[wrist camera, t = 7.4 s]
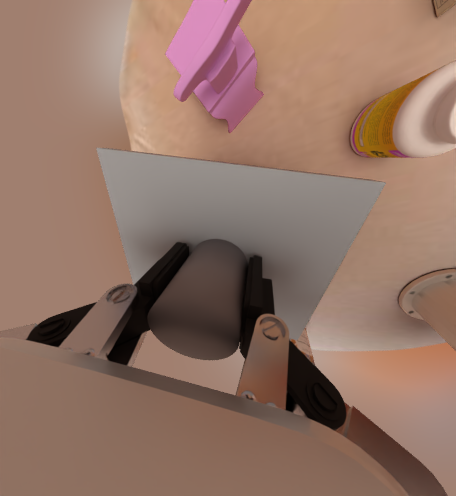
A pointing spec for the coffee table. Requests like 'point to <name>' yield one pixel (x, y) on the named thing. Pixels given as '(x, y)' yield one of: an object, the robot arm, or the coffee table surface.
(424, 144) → the supplement bottle
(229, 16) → the toy chair
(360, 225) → the lid
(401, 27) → the coffee table surface
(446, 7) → the skincare box
